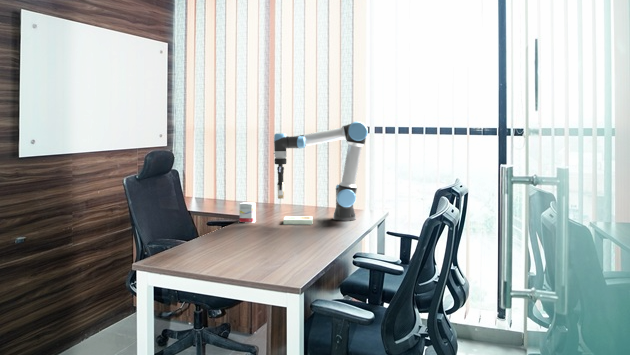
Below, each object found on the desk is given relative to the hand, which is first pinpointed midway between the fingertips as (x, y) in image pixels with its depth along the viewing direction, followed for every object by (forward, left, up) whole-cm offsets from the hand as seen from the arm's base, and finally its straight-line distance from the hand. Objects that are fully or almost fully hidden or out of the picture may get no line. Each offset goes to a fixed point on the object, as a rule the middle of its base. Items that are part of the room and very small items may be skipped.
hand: (281, 194), depth 308 cm
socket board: (-11, 0, -18) cm, 21 cm away
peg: (0, 0, -2) cm, 2 cm away
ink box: (+22, -3, -18) cm, 28 cm away
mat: (+22, -3, -18) cm, 28 cm away
